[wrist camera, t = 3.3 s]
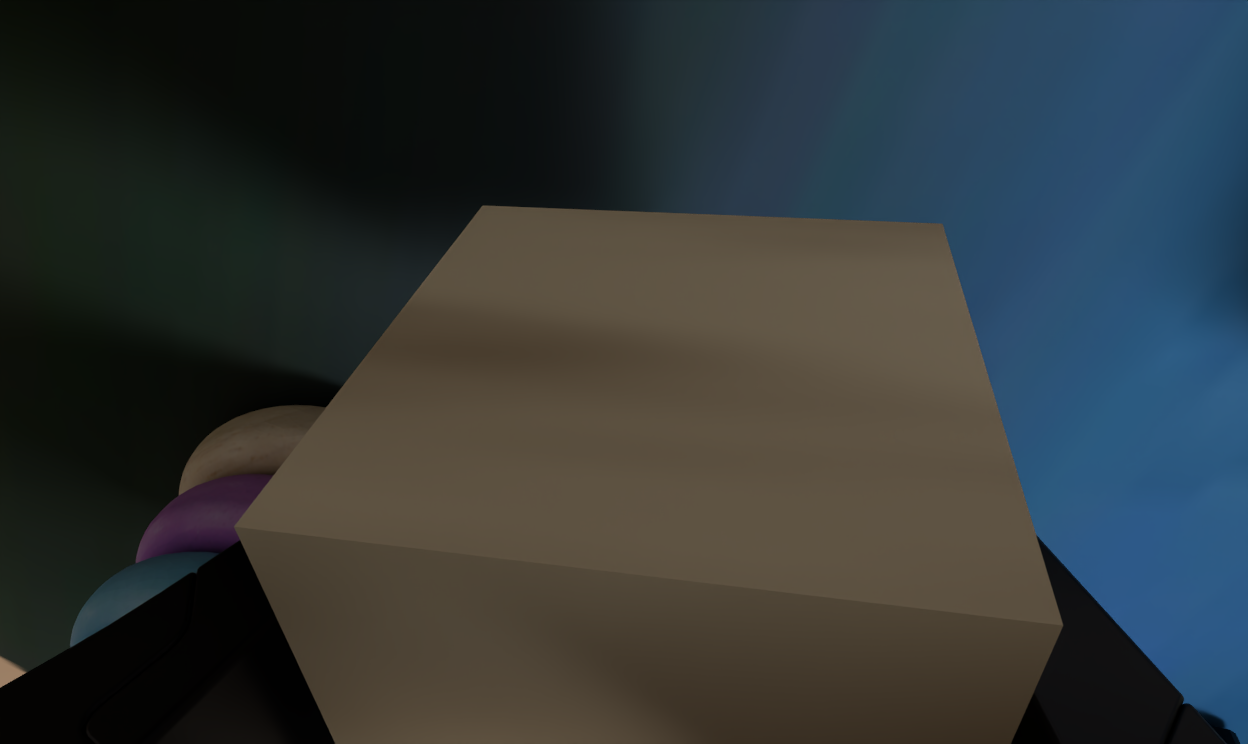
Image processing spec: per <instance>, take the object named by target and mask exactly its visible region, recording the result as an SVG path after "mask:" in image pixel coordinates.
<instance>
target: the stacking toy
mask: <svg viewBox="0 0 1248 744" xmlns="http://www.w3.org/2000/svg"><path fill="white" fill-rule="evenodd" d="M325 408H326V407H319V406H308V405H290V406H277V407H270V408H264V409H260V410H257V411H253V412H249V413H247V414H244V415H241V416H239V417H236V418H234V419H232V420H230V421H228V422H227V423H225V424H223V425H222V426H220V427H218V428H217V429H216V430H214V431H213V432H212V433H210V434H209V435H208V436H207V437H206V438H205V439H204V440H203V441H202V442H201V443H200V444H199V446H198V447H197V448H196V450H195V451H194V452H193V454H192V455H191V457H190V459H189V460H188V462H187V464H186V466H185V469H184V471H183V474H182V478H181V482H180V488H179V496H178V497H176V498H175V499H174V500H173V501H171V502H170V503H169V504H168V505H167V506H166V507H165V508H164V509H163V510H162V511H161V512H160V513H159V514H158V515H157V516H156V517H155V518H154V520H153V521H152V522H151V523H150V524H149V526H148V528H147V529H146V531H145V533H144V535H143V538H142V540H141V542H140V545H139V548H138V552H137V557H136V564H133V565H131V566H128V567H126V568H125V569H123V570H122V571H120V572H118V573H117V574H115V575H113V576H112V577H111V578H110V579H108V580H107V581H106V582H105V583H103V584H102V585H101V586H100V587H99V588H98V589H97V590H96V591H95V592H94V594H93V595H92V596H91V597H90V598H89V599H88V601H87V602H86V603H85V605H84V606H83V608H82V609H81V611H80V613H79V615H78V617H77V619H76V622H75V624H74V627H73V630H72V635H71V642H70V647H72V646H74V645H76V644H77V643H79V642H81V641H82V640H84V639H86V638H87V637H89V636H91V635H93V634H94V633H96V632H98V631H99V630H101V629H103V628H104V627H106V626H108V625H109V624H111V623H113V622H114V621H116V620H118V619H119V618H121V617H122V616H124V615H125V614H127V613H129V612H130V611H132V610H133V609H135V608H136V607H138V606H140V605H141V604H143V603H144V602H146V601H147V600H149V599H151V598H152V597H154V596H155V595H157V594H158V593H160V592H162V591H163V590H165V589H166V588H168V587H169V586H171V585H172V584H174V583H175V582H177V581H178V580H180V579H181V578H183V577H184V576H186V575H187V574H189V573H191V572H194V573H197V569H198V568H199V567H200V566H201V565H203V564H204V563H206V562H207V561H209V560H210V559H212V558H213V557H215V556H216V555H218V554H220V553H221V552H223V551H224V550H226V549H227V548H229V547H230V546H232V545H233V544H235V543H236V542H238V541H239V540H240V539H239V536H238V534H237V532H236V530H235V528H234V526H235V525H236V523H237V522H238V521H239V519H240V518H241V517H242V516H243V514H244V513H245V512H246V510H247V509H248V508H249V507H250V505H251V504H252V503H253V501H254V500H255V499H256V498H257V496H258V495H259V494H260V492H261V491H262V490H263V488H264V487H265V486H266V485H267V483H268V482H269V481H270V479H271V478H272V477H273V476H274V474H275V473H276V472H277V470H278V469H279V468H280V467H281V465H282V464H283V463H284V461H285V460H286V459H287V458H288V456H289V455H290V454H291V452H292V451H293V450H294V448H295V447H296V446H297V445H298V443H299V442H300V441H301V439H302V438H303V437H304V436H305V434H306V433H307V432H308V430H309V429H310V428H311V427H312V425H313V424H314V423H315V421H316V420H317V419H318V417H319V416H320V415H321V414H322V412H323V411H324V410H325Z"/></svg>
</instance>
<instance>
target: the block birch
mask: <svg viewBox="0 0 1248 744" xmlns="http://www.w3.org/2000/svg"><path fill="white" fill-rule="evenodd" d="M234 528H235V530H236V532H237V534H238V536H239V539H240V541H241V543H242V545H243V547H244V549H245V551H246V554H247V556H248V558H249V560H250V562H251V564H252V566H253V569H254V571H255V573H256V575H257V577H258V579H259V581H260V584H261V586H262V588H263V590H264V592H265V594H266V596H267V599H268V601H269V603H270V605H271V607H272V609H273V611H274V613H275V616H276V618H277V620H278V622H279V624H280V626H281V628H282V631H283V633H284V635H285V637H286V639H287V641H288V643H289V646H290V648H291V650H292V652H293V654H294V656H295V658H296V661H297V663H298V665H299V667H300V669H301V671H302V673H303V676H304V678H305V680H306V682H307V684H308V686H309V688H310V691H311V693H312V695H313V697H314V699H315V701H316V703H317V706H318V708H319V710H320V712H321V714H322V716H323V718H324V721H325V723H326V725H327V727H328V729H329V731H330V733H331V735H332V738H333V740H334V742H335V744H1011V742H1012V740H1013V738H1014V735H1015V733H1016V731H1017V729H1018V726H1019V724H1020V722H1021V720H1022V717H1023V715H1024V713H1025V711H1026V708H1027V706H1028V704H1029V702H1030V699H1031V697H1032V695H1033V693H1034V690H1035V688H1036V686H1037V684H1038V681H1039V679H1040V677H1041V675H1042V672H1043V670H1044V668H1045V666H1046V663H1047V661H1048V659H1049V657H1050V654H1051V652H1052V650H1053V648H1054V645H1055V643H1056V641H1057V639H1058V636H1059V634H1060V632H1061V630H1062V627H1063V623H1062V620H1061V616H1060V613H1059V610H1058V606H1057V603H1056V600H1055V596H1054V593H1053V590H1052V587H1051V583H1050V580H1049V577H1048V573H1047V570H1046V567H1045V563H1044V560H1043V557H1042V553H1041V550H1040V547H1039V543H1038V540H1037V537H1036V533H1035V530H1034V527H1033V523H1032V520H1031V517H1030V513H1029V510H1028V507H1027V503H1026V500H1025V497H1024V493H1023V490H1022V487H1021V484H1020V480H1019V477H1018V474H1017V470H1016V467H1015V464H1014V460H1013V457H1012V454H1011V450H1010V447H1009V444H1008V440H1007V437H1006V434H1005V430H1004V427H1003V424H1002V420H1001V417H1000V414H999V410H998V407H997V404H996V400H995V397H994V394H993V390H992V387H991V384H990V381H989V377H988V374H987V371H986V367H985V364H984V361H983V357H982V354H981V351H980V347H979V344H978V341H977V337H976V334H975V331H974V327H973V324H972V321H971V317H970V314H969V311H968V307H967V304H966V301H965V297H964V294H963V291H962V287H961V284H960V281H959V278H958V274H957V271H956V268H955V264H954V261H953V258H952V254H951V251H950V248H949V244H948V241H947V238H946V234H945V231H944V228H943V224H934V223H909V222H884V221H859V220H833V219H808V218H783V217H758V216H733V215H708V214H683V213H658V212H632V211H607V210H582V209H557V208H532V207H507V206H482V207H481V208H480V210H479V211H478V212H477V213H476V215H475V216H474V217H473V219H472V220H471V221H470V222H469V224H468V225H467V226H466V228H465V229H464V230H463V232H462V233H461V234H460V235H459V237H458V238H457V239H456V241H455V242H454V243H453V244H452V246H451V247H450V248H449V250H448V251H447V252H446V253H445V255H444V256H443V257H442V259H441V260H440V261H439V263H438V264H437V265H436V266H435V268H434V269H433V270H432V272H431V273H430V274H429V275H428V277H427V278H426V279H425V281H424V282H423V283H422V284H421V286H420V287H419V288H418V290H417V291H416V292H415V294H414V295H413V296H412V297H411V299H410V300H409V301H408V303H407V304H406V305H405V306H404V308H403V309H402V310H401V312H400V313H399V314H398V315H397V317H396V318H395V319H394V321H393V322H392V323H391V325H390V326H389V327H388V328H387V330H386V331H385V332H384V334H383V335H382V336H381V337H380V339H379V340H378V341H377V343H376V344H375V345H374V346H373V348H372V349H371V350H370V352H369V353H368V354H367V355H366V357H365V358H364V359H363V361H362V362H361V363H360V365H359V366H358V367H357V368H356V370H355V371H354V372H353V374H352V375H351V376H350V377H349V379H348V380H347V381H346V383H345V384H344V385H343V386H342V388H341V389H340V390H339V392H338V393H337V394H336V396H335V397H334V398H333V399H332V401H331V402H330V403H329V405H328V406H327V407H326V408H325V410H324V411H323V412H322V414H321V415H320V416H319V417H318V419H317V420H316V421H315V423H314V424H313V425H312V427H311V428H310V429H309V430H308V432H307V433H306V434H305V436H304V437H303V438H302V439H301V441H300V442H299V443H298V445H297V446H296V447H295V448H294V450H293V451H292V452H291V454H290V455H289V456H288V458H287V459H286V460H285V461H284V463H283V464H282V465H281V467H280V468H279V469H278V470H277V472H276V473H275V474H274V476H273V477H272V478H271V479H270V481H269V482H268V483H267V485H266V486H265V487H264V488H263V490H262V491H261V492H260V494H259V495H258V496H257V498H256V499H255V500H254V501H253V503H252V504H251V505H250V507H249V508H248V509H247V510H246V512H245V513H244V514H243V516H242V517H241V518H240V519H239V521H238V522H237V523H236V525H235V526H234Z"/></svg>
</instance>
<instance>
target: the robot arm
mask: <svg viewBox="0 0 1248 744" xmlns="http://www.w3.org/2000/svg"><path fill="white" fill-rule="evenodd" d="M1036 537H1037V540H1038V543H1039V547H1040V550H1041V553H1042V557H1043V560H1044V563H1045V567H1046V570H1047V573H1048V577H1049V580H1050V583H1051V587H1052V590H1053V593H1054V596H1055V600H1056V603H1057V606H1058V610H1059V613H1060V616H1061V620H1062V623H1063V627H1062V630H1061V632H1060V634H1059V636H1058V639H1057V641H1056V643H1055V645H1054V648H1053V650H1052V652H1051V654H1050V657H1049V659H1048V661H1047V663H1046V666H1045V668H1044V670H1043V672H1042V675H1041V677H1040V679H1039V681H1038V684H1037V686H1036V688H1035V690H1034V693H1033V695H1032V697H1031V699H1030V702H1029V704H1028V706H1027V708H1026V711H1025V713H1024V715H1023V717H1022V720H1021V722H1020V724H1019V726H1018V729H1017V731H1016V733H1015V735H1014V738H1013V740H1012V742H1011V744H1240V742H1239V740H1238V737H1237V736H1236V734H1235V733H1234V732H1232V731H1231V730H1228V729H1224V728H1219V727H1212V726H1210V725H1209V724H1208V722H1207V721H1206V720H1205V719H1204V718H1203V717H1202V716H1201V715H1200V714H1199V713H1198V711H1197V710H1196V709H1195V708H1194V707H1193V706H1192V705H1190V704H1187V703H1185V704H1183V701H1184V698H1183V696H1182V694H1181V693H1180V692H1179V691H1178V690H1177V689H1176V688H1175V687H1174V686H1173V684H1172V683H1171V682H1170V681H1169V680H1168V679H1167V678H1166V677H1165V676H1164V675H1163V674H1162V672H1161V671H1160V670H1159V669H1158V668H1157V667H1156V666H1155V665H1154V664H1153V663H1152V661H1151V660H1150V659H1149V658H1148V657H1147V656H1146V655H1145V654H1144V653H1143V652H1142V650H1141V649H1140V648H1139V647H1138V646H1137V645H1136V644H1135V643H1134V642H1133V641H1132V639H1131V638H1130V637H1129V636H1128V635H1127V634H1126V633H1125V632H1124V631H1123V630H1122V629H1121V627H1120V626H1119V625H1118V624H1117V623H1116V622H1115V621H1114V620H1113V619H1112V618H1111V616H1110V615H1109V614H1108V613H1107V612H1106V611H1105V610H1104V609H1103V608H1102V607H1101V605H1100V604H1099V603H1098V602H1097V601H1096V600H1095V599H1094V598H1093V597H1092V596H1091V594H1090V593H1089V592H1088V591H1087V590H1086V589H1085V588H1084V587H1083V586H1082V585H1081V583H1080V582H1079V581H1078V580H1077V579H1076V578H1075V577H1074V576H1073V575H1072V574H1071V573H1070V571H1069V570H1068V569H1067V568H1066V567H1065V566H1064V565H1063V564H1062V563H1061V562H1060V560H1059V559H1058V558H1057V557H1056V556H1055V555H1054V554H1053V553H1052V552H1051V551H1050V549H1049V548H1048V547H1047V546H1046V545H1045V544H1044V543H1043V542H1042V541H1041V540H1040V538H1039V537H1038V536H1037V535H1036ZM1182 704H1183V705H1182ZM0 744H335V742H334V740H333V738H332V735H331V733H330V731H329V729H328V727H327V725H326V723H325V721H324V718H323V716H322V714H321V712H320V710H319V708H318V706H317V703H316V701H315V699H314V697H313V695H312V693H311V691H310V688H309V686H308V684H307V682H306V680H305V678H304V676H303V673H302V671H301V669H300V667H299V665H298V663H297V661H296V658H295V656H294V654H293V652H292V650H291V648H290V646H289V643H288V641H287V639H286V637H285V635H284V633H283V631H282V628H281V626H280V624H279V622H278V620H277V618H276V616H275V613H274V611H273V609H272V607H271V605H270V603H269V601H268V599H267V596H266V594H265V592H264V590H263V588H262V586H261V584H260V581H259V579H258V577H257V575H256V573H255V571H254V569H253V566H252V564H251V562H250V560H249V558H248V556H247V554H246V551H245V549H244V547H243V545H242V543H241V541H240V540H239V541H238V542H236V543H235V544H233V545H232V546H230V547H229V548H227V549H226V550H224V551H223V552H221V553H220V554H218V555H216V556H215V557H213V558H212V559H210V560H209V561H207V562H206V563H204V564H203V565H201V566H200V567H199V568H198V569H197V573H194V572H191V573H189V574H187V575H186V576H184V577H183V578H181V579H180V580H178V581H177V582H175V583H174V584H172V585H171V586H169V587H168V588H166V589H165V590H163V591H162V592H160V593H158V594H157V595H155V596H154V597H152V598H151V599H149V600H147V601H146V602H144V603H143V604H141V605H140V606H138V607H136V608H135V609H133V610H132V611H130V612H129V613H127V614H125V615H124V616H122V617H121V618H119V619H118V620H116V621H114V622H113V623H111V624H109V625H108V626H106V627H104V628H103V629H101V630H99V631H98V632H96V633H94V634H93V635H91V636H89V637H87V638H86V639H84V640H82V641H81V642H79V643H77V644H76V645H74V646H72V647H70V648H69V649H67V650H65V651H64V652H62V653H60V654H59V655H57V656H55V657H53V658H52V659H50V660H48V661H46V662H45V663H43V664H41V665H39V666H38V667H36V668H34V669H32V670H31V671H29V672H27V673H25V674H24V675H22V676H20V677H18V678H17V679H15V680H13V681H12V682H10V683H8V684H6V685H4V686H2V687H1V688H0Z"/></svg>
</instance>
